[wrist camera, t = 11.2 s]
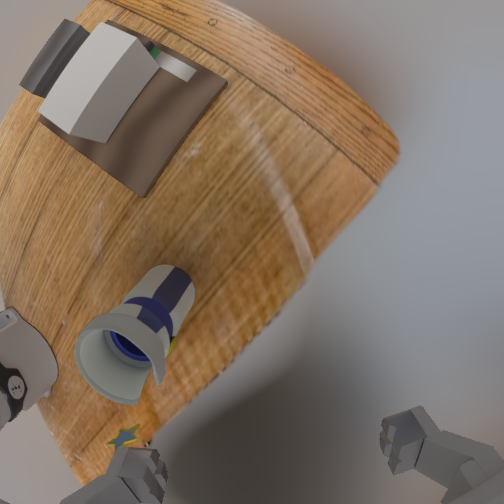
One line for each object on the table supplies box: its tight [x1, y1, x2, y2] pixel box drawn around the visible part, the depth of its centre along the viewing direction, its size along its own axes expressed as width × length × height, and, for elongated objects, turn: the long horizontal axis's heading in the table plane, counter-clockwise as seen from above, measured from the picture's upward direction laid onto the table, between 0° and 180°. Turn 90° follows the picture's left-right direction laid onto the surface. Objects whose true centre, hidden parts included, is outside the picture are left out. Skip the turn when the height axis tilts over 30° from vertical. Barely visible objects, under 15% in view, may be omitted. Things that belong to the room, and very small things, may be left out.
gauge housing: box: [38, 22, 160, 143], centre depth 28 cm, size 8×14×9 cm, turn 144°
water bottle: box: [75, 265, 195, 451], centre depth 28 cm, size 8×9×25 cm
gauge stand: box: [19, 19, 228, 198], centre depth 30 cm, size 22×18×10 cm
